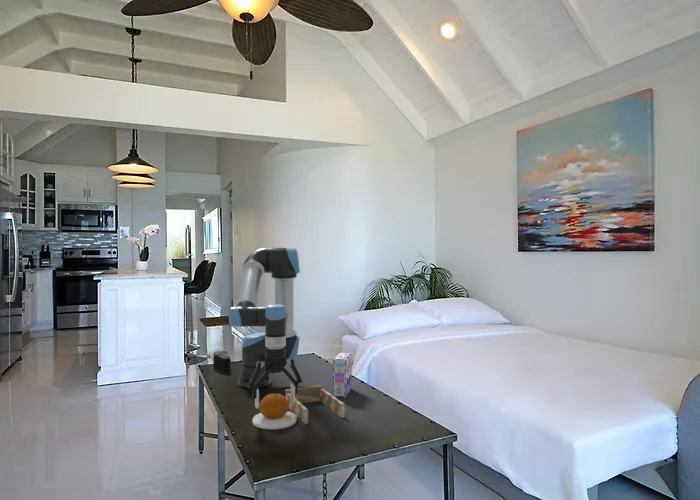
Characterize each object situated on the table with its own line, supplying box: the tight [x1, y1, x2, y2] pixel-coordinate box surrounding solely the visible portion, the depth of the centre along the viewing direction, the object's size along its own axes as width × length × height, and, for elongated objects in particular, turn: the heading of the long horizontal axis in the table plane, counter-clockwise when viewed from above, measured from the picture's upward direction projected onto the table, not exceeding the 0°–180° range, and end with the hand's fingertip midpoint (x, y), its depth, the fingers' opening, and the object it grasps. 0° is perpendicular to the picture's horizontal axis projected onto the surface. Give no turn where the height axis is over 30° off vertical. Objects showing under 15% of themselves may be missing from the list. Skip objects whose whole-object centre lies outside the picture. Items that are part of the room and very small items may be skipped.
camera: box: [213, 349, 232, 374], centre depth 242 cm, size 15×7×10 cm, turn 42°
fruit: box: [258, 393, 290, 418], centre depth 169 cm, size 10×10×8 cm
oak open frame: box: [284, 384, 346, 425], centre depth 180 cm, size 23×16×6 cm
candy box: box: [332, 352, 353, 398], centre depth 203 cm, size 14×6×16 cm, turn 168°
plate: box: [252, 410, 298, 431], centre depth 168 cm, size 16×16×1 cm
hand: (275, 404), depth 169 cm, fingers open, 13 cm apart
